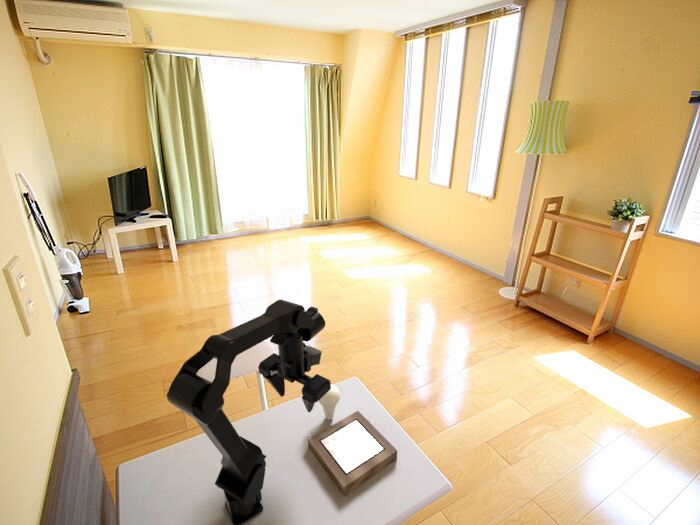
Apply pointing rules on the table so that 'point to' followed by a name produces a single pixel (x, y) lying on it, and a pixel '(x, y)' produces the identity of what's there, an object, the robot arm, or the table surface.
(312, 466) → the table surface
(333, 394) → the lightbulb
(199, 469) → the table surface
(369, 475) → the brown picture frame
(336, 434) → the platform
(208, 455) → the table surface
